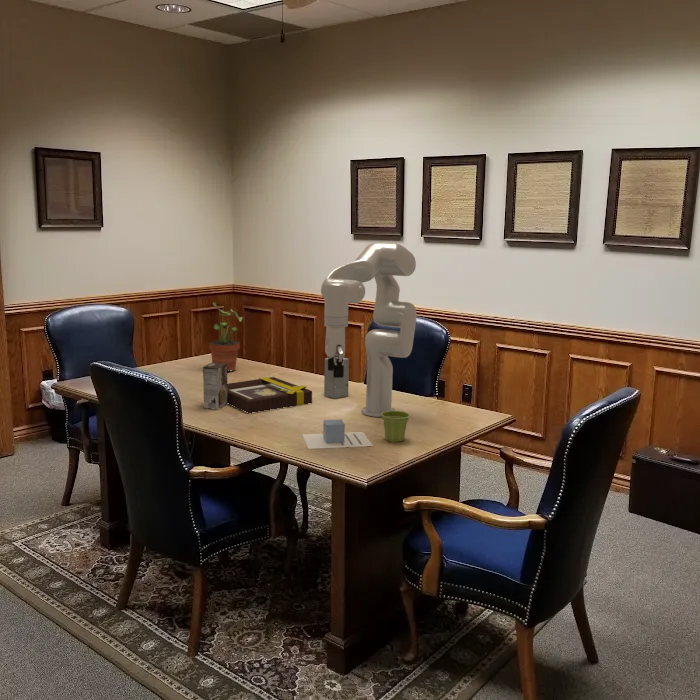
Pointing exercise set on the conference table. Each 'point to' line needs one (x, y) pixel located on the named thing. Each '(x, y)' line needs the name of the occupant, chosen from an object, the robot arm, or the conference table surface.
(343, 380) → the skincare box
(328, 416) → the conference table surface
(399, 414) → the plant pot
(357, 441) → the letter
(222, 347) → the potted plant
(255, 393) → the brown gift box
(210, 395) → the coffee box
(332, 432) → the cube
